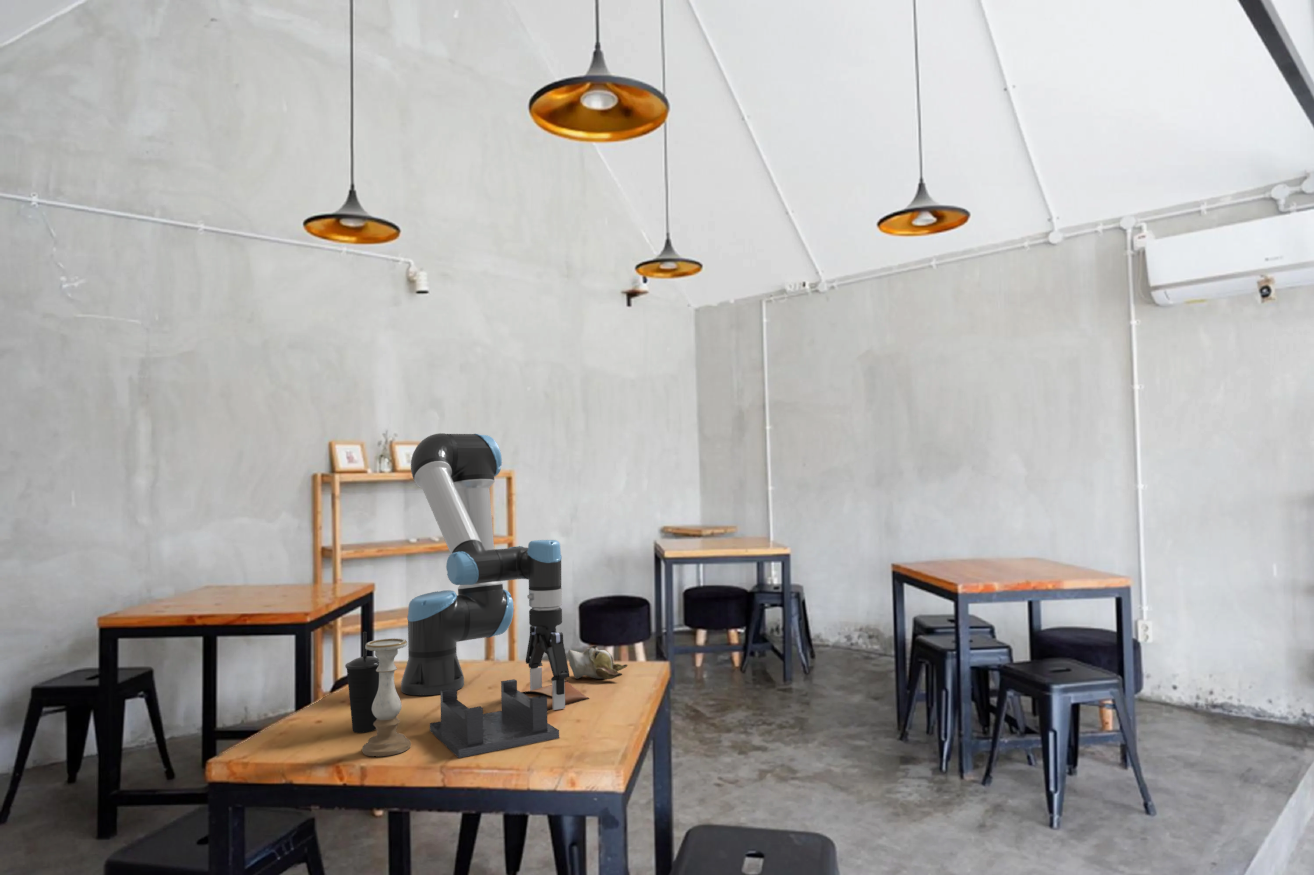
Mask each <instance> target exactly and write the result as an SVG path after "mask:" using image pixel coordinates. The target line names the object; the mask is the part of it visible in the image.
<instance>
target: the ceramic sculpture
mask: <svg viewBox="0 0 1314 875" xmlns="http://www.w3.org/2000/svg"><path fill="white" fill-rule="evenodd" d="M567 654H568V662H569V663H568V665H569V666H570V669H571V671H572V673H573V676H574V678H575V679H577V680H578V679H580V678H582V677H584V676H585V677H590V678H592V679H597V680H602V679H605V680H612V679H616V678H618V677H620V676H623V673H622V672H619V671H621V670H624V669H626V668H627V667H628V666H629V665H628V664H626V663H625V664H619V663H616V662H614V657H613V655H612V654H611V652H610V651H608V650H606V649H599V648H598V645H596V644H595V645H594V644H593V645H591V646H589V647H587V648H586V650H585V651H583V652H579V651H576V650H572V649H568V653H567Z"/></svg>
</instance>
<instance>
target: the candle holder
mask: <svg viewBox="0 0 1314 875" xmlns="http://www.w3.org/2000/svg"><path fill="white" fill-rule="evenodd" d="M406 647H408V641H407V640H406V639H404V638H395V637H394V638H381V639H374V640H371V641H368V642H367V644H366V646H365V648H366V649H367V651H371V652H374V657H376V658H378V660H379V666H378V667H377V669H376V672H379V687H378V691H377V694H376V697H375V699H374V701H373V704H372V713H373V715H374V716H375V717H376V718H377V719H376V721H375V722H374V726H375V727H376V732H377V733H376V735H374V736H372V737H370V738H369V739H368V740H367V742H366V743H364V745H362V754H364V755H365V756H368V757H374V756H376V757H379V758H380V757H389V756H395V755H398V754H402V753H404V752H406V751H408V750H409V749H410V748H411V746H412V742H411V740H410V738H408V737H406V735H405V734H404V733H401V732H397V729H398V728H397V727H398V725H399V724H400V722H401V720H400V718H398V717H397V716H399V714H400V712H401V710H402V702H401V698H400V696H399V694H398V692H397V689H396V686H395V671H396V670H398V668H397V666H396V664H395V658H396V657H397V655H398V654H399V651H398V650H400V649H403V648H406ZM376 757H375V758H376Z"/></svg>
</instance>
